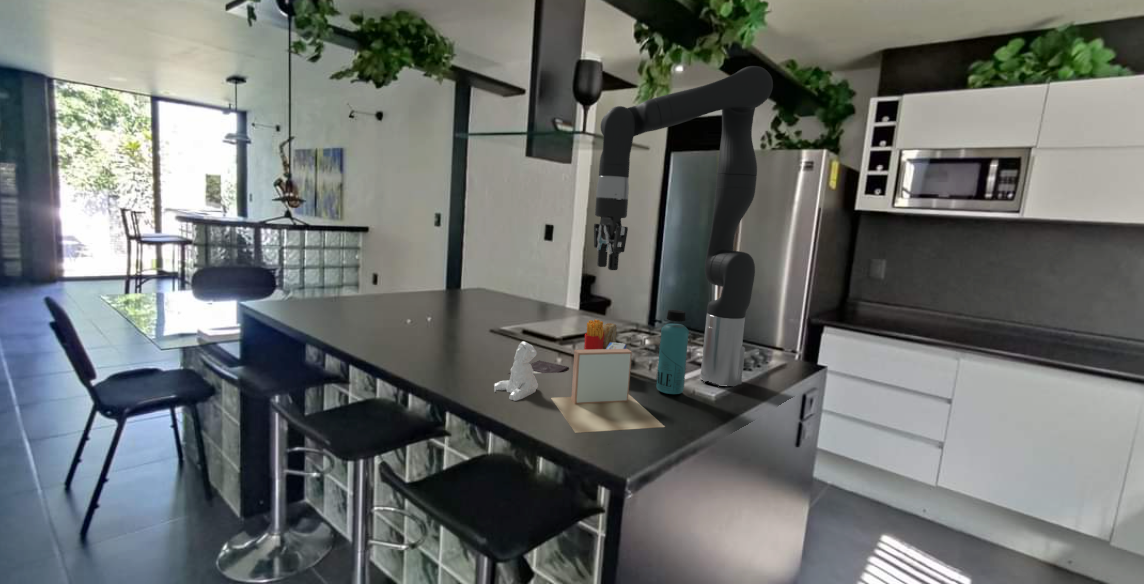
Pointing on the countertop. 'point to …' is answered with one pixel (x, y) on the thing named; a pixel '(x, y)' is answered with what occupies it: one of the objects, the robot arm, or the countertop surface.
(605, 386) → the glazed tile
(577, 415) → the birch board
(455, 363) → the countertop surface
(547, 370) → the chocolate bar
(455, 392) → the countertop surface
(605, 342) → the tan mottled block
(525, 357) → the sitting furry creature
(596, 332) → the french fries
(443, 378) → the countertop surface
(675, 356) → the beverage bottle
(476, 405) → the countertop surface
